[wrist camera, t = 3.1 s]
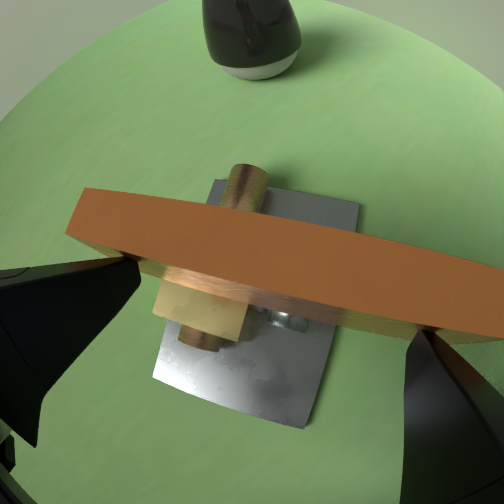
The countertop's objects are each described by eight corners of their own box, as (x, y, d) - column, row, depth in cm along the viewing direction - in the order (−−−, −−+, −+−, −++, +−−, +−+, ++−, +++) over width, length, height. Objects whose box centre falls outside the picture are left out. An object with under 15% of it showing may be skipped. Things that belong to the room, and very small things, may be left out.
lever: (390, 351, 16) (508, 354, 5) (191, 302, 20) (60, 243, 8) (398, 313, 17) (514, 259, 5) (202, 267, 20) (89, 177, 9)
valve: (304, 426, 17) (302, 446, 13) (156, 376, 20) (127, 381, 17) (358, 207, 21) (366, 180, 17) (217, 182, 24) (201, 156, 20)
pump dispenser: (286, 39, 29) (267, -57, 15) (317, 79, 26) (305, -46, 12) (212, 59, 31) (174, -34, 16) (227, 103, 27) (177, -19, 13)
